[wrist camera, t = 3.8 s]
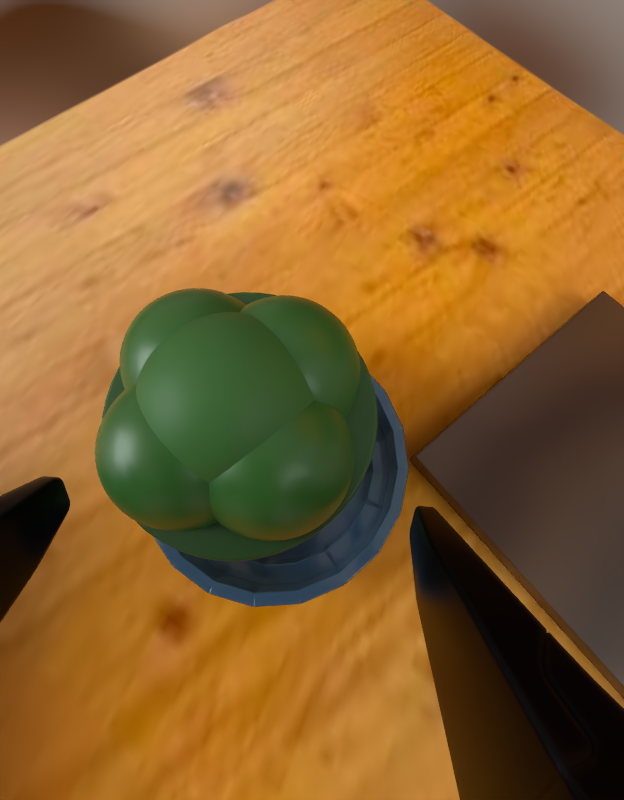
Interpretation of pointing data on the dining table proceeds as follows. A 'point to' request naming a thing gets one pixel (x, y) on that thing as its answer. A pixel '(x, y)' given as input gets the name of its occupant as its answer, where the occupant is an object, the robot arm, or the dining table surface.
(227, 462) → the broccoli
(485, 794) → the robot arm
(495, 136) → the dining table surface
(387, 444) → the bowl
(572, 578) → the board
